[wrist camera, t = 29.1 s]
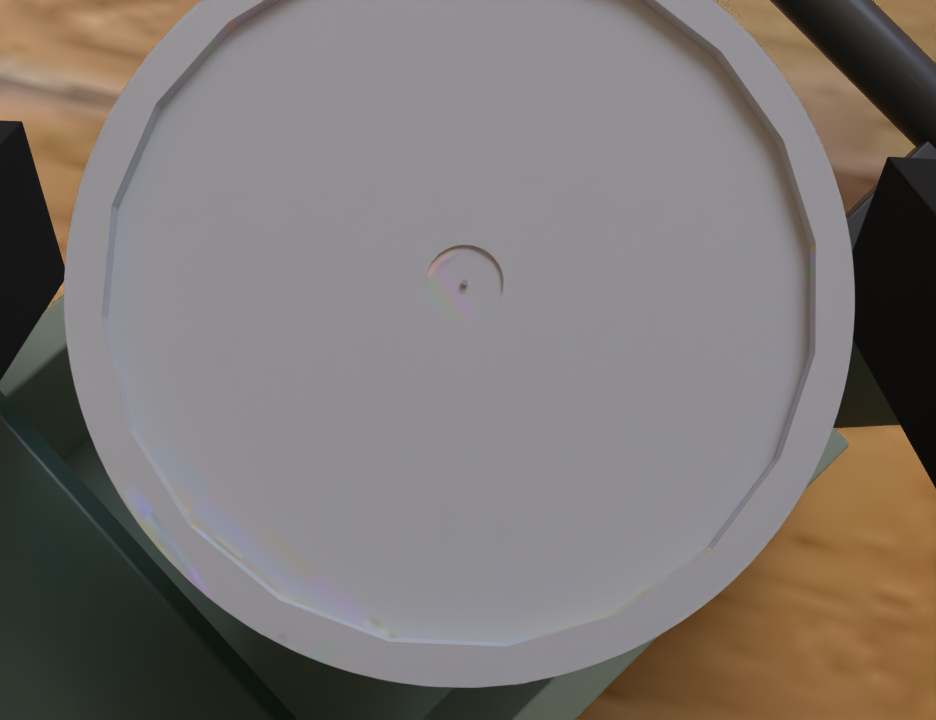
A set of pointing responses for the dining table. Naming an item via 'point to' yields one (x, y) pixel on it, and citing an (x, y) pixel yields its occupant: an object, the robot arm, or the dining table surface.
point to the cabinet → (99, 610)
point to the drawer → (547, 700)
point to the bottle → (459, 321)
